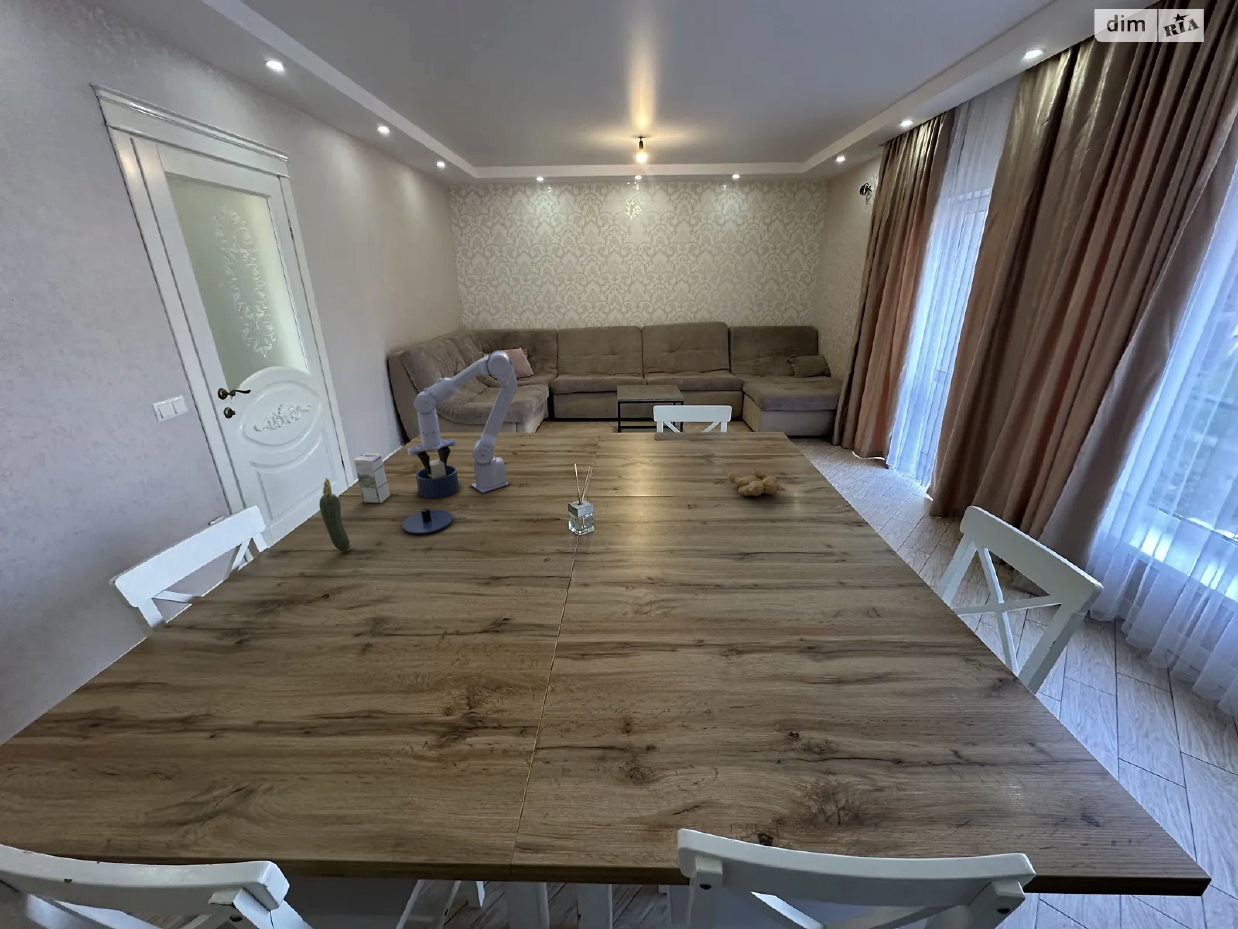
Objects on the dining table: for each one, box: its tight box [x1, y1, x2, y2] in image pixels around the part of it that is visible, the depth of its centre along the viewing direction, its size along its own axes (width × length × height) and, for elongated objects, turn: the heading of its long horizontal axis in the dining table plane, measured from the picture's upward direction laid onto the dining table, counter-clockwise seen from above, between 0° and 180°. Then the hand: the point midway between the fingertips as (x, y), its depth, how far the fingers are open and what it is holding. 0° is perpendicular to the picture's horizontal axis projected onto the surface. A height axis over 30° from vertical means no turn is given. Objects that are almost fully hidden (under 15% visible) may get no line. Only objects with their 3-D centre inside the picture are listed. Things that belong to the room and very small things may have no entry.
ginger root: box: [726, 466, 787, 497], centre depth 152 cm, size 16×16×8 cm
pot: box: [415, 464, 460, 499], centre depth 155 cm, size 12×12×6 cm
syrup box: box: [353, 453, 391, 504], centre depth 148 cm, size 6×6×14 cm
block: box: [428, 458, 446, 479], centre depth 154 cm, size 4×4×4 cm
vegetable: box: [319, 477, 351, 553], centre depth 118 cm, size 4×4×20 cm
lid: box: [401, 507, 453, 535], centre depth 135 cm, size 13×13×5 cm
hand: (436, 471), depth 154 cm, fingers closed on block, 4 cm apart
